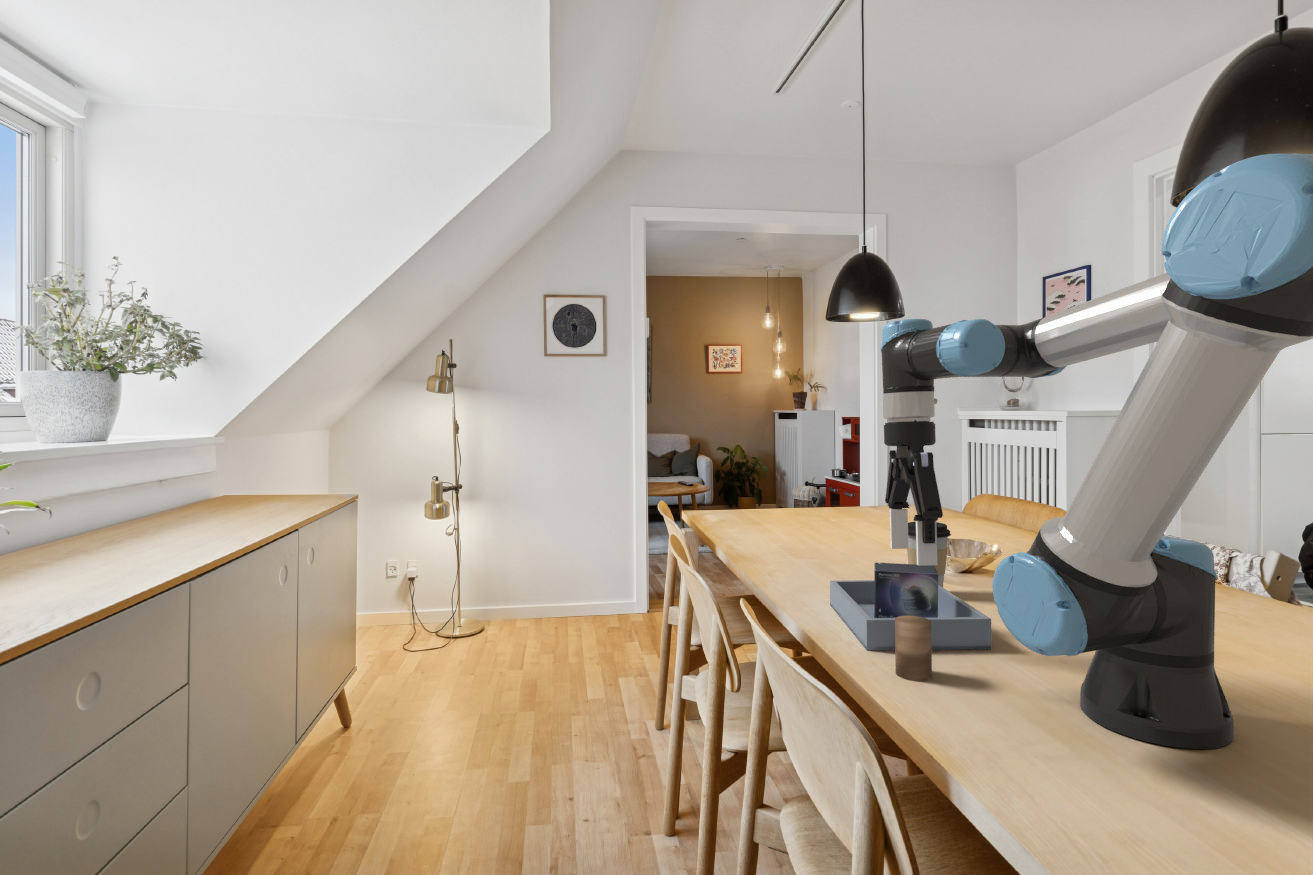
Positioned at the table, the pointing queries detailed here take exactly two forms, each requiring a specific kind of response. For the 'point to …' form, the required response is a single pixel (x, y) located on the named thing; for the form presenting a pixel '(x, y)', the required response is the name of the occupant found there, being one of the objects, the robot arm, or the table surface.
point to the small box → (905, 590)
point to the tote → (856, 609)
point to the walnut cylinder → (913, 648)
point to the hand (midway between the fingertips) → (912, 556)
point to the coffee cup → (941, 548)
